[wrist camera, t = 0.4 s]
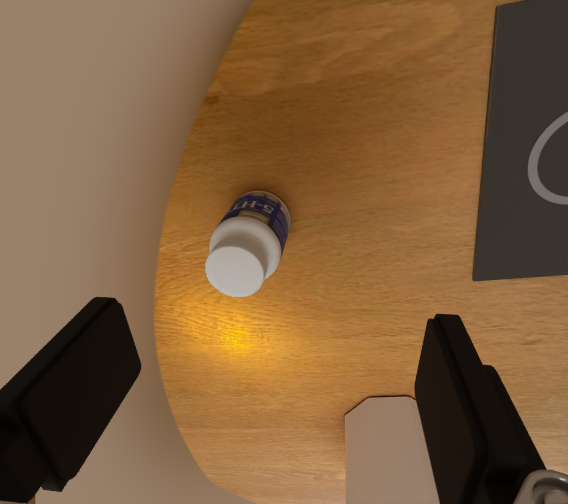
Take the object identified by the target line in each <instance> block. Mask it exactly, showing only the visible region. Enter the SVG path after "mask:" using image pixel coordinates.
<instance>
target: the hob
mask: <svg viewBox="0 0 568 504" xmlns="http://www.w3.org/2000/svg"><path fill="white" fill-rule="evenodd" d="M558 275H568V0H525V1H520V2H515V3H510V4H506V5H501V6H497V7H496V17H495V29H494V40H493V51H492V63H491V74H490V86H489V97H488V108H487V120H486V131H485V142H484V154H483V165H482V177H481V188H480V199H479V211H478V222H477V233H476V245H475V256H474V268H473V279H472V280H473V281H485V280H500V279H514V278H529V277H543V276H558Z"/></svg>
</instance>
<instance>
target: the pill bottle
mask: <svg viewBox="0 0 568 504" xmlns="http://www.w3.org/2000/svg"><path fill="white" fill-rule="evenodd" d="M289 229H290V214H289V211H288V209H287V207H286V205H285V204H284V203H283V202H282V200H281V199H279V198H278V197H277V196H275V195H273V194H271V193H269V192H265V191H251V192H248V193H245V194H243V195H242V196H240V197H239V198H238V199H237V200H236V201H235V203H234V204H233V205H232V207H231V208H230V210H229V211H228V212H227V214H226V215H225V216H224V218H223V219H222V221H221V222H220V223H219V225H218V226H217V227H216V229H215V230H214V232H213V234H212V236H211V239H210V244H209V251H210V254H209V256H208V258H207V260H206V263H205V272H206V275H207V278H208V280H209V282H210V283H211V284H212V285H213V286H214V287H215V288H216V289H217V290H218V291H220V292H221V293H223V294H226V295H228V296H232V297H246V296H249V295H252V294H254V293H255V292H256V291H257V290H259V288H260V287H261V286H262V284H263V281H264V280H265V279H267V278H268V277H269V276H271V275H272V274H273V273H274V272H275V270H276V269H277V267H278V265H279V262H280V260H281V256H282V253H283V250H284V246H285V243H286V240H287V236H288V233H289Z"/></svg>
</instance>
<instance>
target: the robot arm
mask: <svg viewBox="0 0 568 504" xmlns="http://www.w3.org/2000/svg"><path fill="white" fill-rule="evenodd" d="M140 370H141V362H140V359H139V356H138V353H137V350H136V346H135V343H134V340H133V337H132V334H131V332H130V328H129V325H128V322H127V319H126V316H125V313H124V310H123V307H122V305H121V304H120V303H118V301H117V300H116V299H115V298H108V297H95V298H93V299H92V300H91V301H90V302H89V303H88V304H87V305H86V306H85V307H84V308H83V309H82V310H81V311H80V312H79V313H78V314H77V315H76V316H75V317H74V318H73V319H72V320H71V321H69V322H68V323H67V325H66V326H64V327H63V328H62V329H61V330H60V331H59V332H58V333H57V334H56V335H55V336H54V337H53V338H52V339H51V340H50V341H49V342H48V343H47V344H46V345H45V346H44V347H43V348H42V349H41V350H40V351H39V352H38V353H37V354H36V355H35V356H34V357H33V358H32V359H31V360H30V361H29V362H28V363H27V364H26V365H25V366H24V367H23V368H22V369H21V370H20V371H19V372H18V373H17V374H16V375H15V376H14V377H13V378H12V379H11V380H10V381H9V382H8V383H7V384H6V385H5V386H4V387H3V388H2V389H1V390H0V504H35V494H36V493H37V491H38V490H39V488H40V487H42V488H43V490H50V491H58V492H61V491H62V490H63V489H64V487H65V485H66V484H67V482H68V481H69V480H70V479H72V478H73V477H75V476H76V474H77V473H78V472H79V470H80V468H81V467H82V465H83V464H84V462H85V460H86V459H87V457H88V456H89V454H90V452H91V451H92V449H93V448H94V446H95V444H96V443H97V441H98V440H99V438H100V436H101V435H102V433H103V432H104V430H105V428H106V427H107V425H108V424H109V422H110V420H111V419H112V417H113V416H114V414H115V412H116V411H117V409H118V408H119V406H120V404H121V403H122V401H123V399H124V398H125V396H126V395H127V393H128V392H129V390H130V388H131V387H132V385H133V383H134V382H135V380H136V379H137V377H138V375H139V373H140ZM415 398H416V402H417V407H418V411H419V415H420V420H421V424H422V428H423V433H424V437H425V442H426V446H427V450H428V455H429V459H430V463H431V468H432V472H433V476H434V481H435V485H436V489H437V494H438V498H439V502H440V504H568V475H566V474H564V473H560V472H557V471H554V470H547V469H546V467H545V465H544V463H543V461H542V459H541V457H540V455H539V453H538V451H537V449H536V447H535V446H534V444H533V442H532V440H531V438H530V436H529V434H528V432H527V430H526V428H525V426H524V424H523V422H522V420H521V418H520V416H519V414H518V412H517V410H516V408H515V406H514V404H513V402H512V400H511V398H510V396H509V394H508V392H507V390H506V388H505V387H504V385H503V383H502V381H501V379H500V377H499V375H498V373H497V371H496V370H495V368H494V367H492V366H491V365H483V364H482V362H481V360H480V358H479V356H478V354H477V352H476V350H475V347H474V345H473V343H472V341H471V339H470V337H469V335H468V333H467V331H466V328H465V326H464V324H463V322H462V320H461V318H460V316H459V315H451V314H436V315H435V317H434V319H428V321H427V326H426V331H425V336H424V340H423V345H422V350H421V355H420V360H419V365H418V370H417V375H416V380H415Z"/></svg>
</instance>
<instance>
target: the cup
mask: <svg viewBox="0 0 568 504" xmlns="http://www.w3.org/2000/svg"><path fill="white" fill-rule="evenodd" d="M345 460H346V504H440V502H439V498H438V494H437V489H436V485H435V481H434V476H433V472H432V468H431V463H430V459H429V455H428V450H427V446H426V442H425V437H424V433H423V428H422V424H421V420H420V415H419V411H418V407H417V402H416V401H415V400H414V399H412V398H410V397H377V398H367V399H366V400H365V401H363V402H362V403H361V404H360V405H358V406H357V407H356V408H354V409H353V410H352V411H350V412H349V413H348V414H347V415H345Z"/></svg>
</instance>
